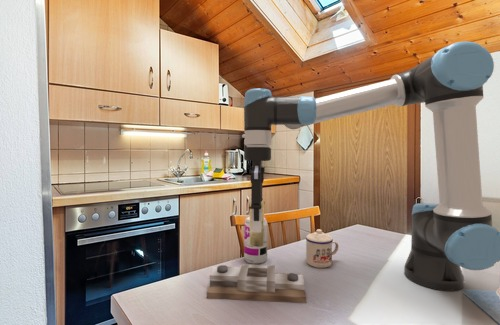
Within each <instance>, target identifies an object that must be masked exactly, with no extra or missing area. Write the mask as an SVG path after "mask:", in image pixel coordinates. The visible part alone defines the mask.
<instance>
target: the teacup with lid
mask: <svg viewBox="0 0 500 325" xmlns="http://www.w3.org/2000/svg"><path fill="white" fill-rule="evenodd" d="M305 240H306V241H305V244H306V245H305V248H306V250H305V251H306V252H305V258H306V259H305V260H306V264H308V265H309V266H312V267H314V268H321V269H323V268H329V267H331V266H332V264H333V263H332V262H333V261H332V260H333V259H332V258H333V255H336V254H337V253H338V251H339V247H340V246H339V243H338V242H337V241H335V240H334V239H333V237H332V236H331V235H329V234H326V233H325V232H323V230H322V229H320V228H318V229H316V231H314V232H312V233H308V234H307V235H306V236H305ZM333 244H335V247H334V249H333Z"/></svg>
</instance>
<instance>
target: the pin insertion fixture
mask: <svg viewBox="0 0 500 325" xmlns="http://www.w3.org/2000/svg"><path fill="white" fill-rule="evenodd" d="M305 285H306V284H305V280H304V275H303V274H301V273H294V272H290V273H285V272H284V273H282V272H281V273H280V272H276V266H275V265H271V264H270V265H268V264H266V265H265V264H246V263H245V264H244V263H243V264H241V266H228V265H224V264H222V265H221V264H220V265H214V266H213V268H212V270H211V272H210V273H209V286H208V288H207V291H206V299H220V300H221V299H222V300H224V299H225V300H241V301H260V302H263V301H264V302H284V303H299V304H300V303H302V304H303V303H304V304H307V293H306V289H305V288H306V286H305Z"/></svg>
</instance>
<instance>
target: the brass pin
mask: <svg viewBox="0 0 500 325" xmlns="http://www.w3.org/2000/svg"><path fill="white" fill-rule="evenodd" d="M264 202H265V201H263V200H262V201H261V206H262V232H261V233H258V232H252V209H249V217H250V245H251V246H254V247H260V246H263V245H264V217H265V204H264ZM249 207H251V201H250V202H249Z"/></svg>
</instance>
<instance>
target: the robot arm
mask: <svg viewBox="0 0 500 325" xmlns="http://www.w3.org/2000/svg"><path fill="white" fill-rule="evenodd" d="M494 69H495V63H494V59H493V56H492V54H491V53H490V51H489V50H488V49H487V48H486V47H485V46H482V45H481V44H479V43H477V42H474V41H468V40H465V41H456V42H453V43H451V44H448V45H447V46H445V47H442V48H441V49H438V51H436V52H435V54H433V55H431V56H429V58H427V59H425V60H424V61H422V62H420V63H419V64H417V65H415V66H414V67H412V68H410V69H409V70H406V71H402V72H400V73H396V74H393V75H392V76H391V77H390V79H387V80H383V81H379V82H376V83H371V84H366V85H364V86H359V87H355V88H352V89H348V90H344V91H341V92H340V91H339V92H336V93H333V94H328V95H325V96H321V97H316V98H315V97H314V96H305V95H301V96H273V94H272V91H271V90H270V89H267V88H250V89H248V90H246V92H245V94H244V104H243V105H244V106H243V119H244V120H243V125H244V126H243V127H244V128H243V130H244V133H243V134H242V135H241V138H243V139H244V140H243V141H244V142H243V144H244V146H246V147H244V148H243V159H244V161H249V162H250V161H251V162H252V166H250V167H249V173H250V184H251V187H250V188H251V189H250V190H251V194H250V195H251V199H250V200H251V201H250V202H251V207H250V206H249V207H248V209H249V210H250V209H252V232H258V233H261V232H262V206H261V201H263V184H264V180H265V177H264V176H265V167H264V166H263V162H269V161H271V159H272V148H271V147H270V146H271V145H272V126H273V125H274V126H282V125H283V126H285V127H286V128H287V129H289V130H297V129H298V130H299V129H300V128H303V127H306V126H311V125H314V124H319V123H322V122H327V121H330V120H331V121H332V120H334V119H335V120H336V119H339V118H343V117H347V116H351V115H356V114H361V113H365V112H368V111H373V110H377V109H382V108H385V107H390V106H394V105H395V107H399V108H400V107H403V106H409V105H417V104H424V105H425V106H424V107H426V108H427V109H428V110H429V111H431V112H432V119H433V120H432V122H433V132H434V145H435V147H434V148H435V159H436V170H437V172H436V173H437V184H438V185H437V186H438V198H439V199H438V200H439V203H415V204H414V205H412V209H411V210H412V212H411V241H410V242H411V245H410V246H411V249H410V252H409V254H408V257H407V259H406V261H405V264H404V266H403V274H404V276H405V277H406V278H407V279H408V280H410V281H412V282H414V283H416V284H417V285H420V286H423V287H425V288H428V289H429V288H430V289H434V290H437V291H445V292H446V291H447V292H449V291H450V292H451V291H452V292H455V291H461V290H462V289H463V288H464V287H465V278H464V273H463V272H462V269H461V268H464V269H466V270H469V271H483V270H487V269H490V268H492V267H494V266H495V264H496V263H499V262H500V231H499V229H497V228H496V227H494V226H493V220H492V219H493V218H492V216H493V215H492V211H491V209H489V208H487V207H486V206H485V205H484V204H483V193H482V180H481V177H482V176H481V165H480V151H479V135H478V123H477V122H478V121H477V105H478V104H479V103H480V102H481V101H482V100H483V99H484V84H486V83H487V82H488V80H489V79H490V78H491V77H492V75H493V72H494ZM263 202H264V205H265V204H266V203H265V201H263Z"/></svg>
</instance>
